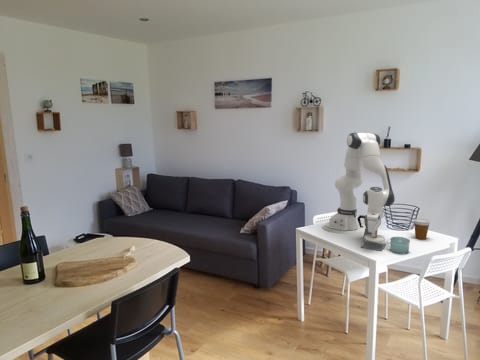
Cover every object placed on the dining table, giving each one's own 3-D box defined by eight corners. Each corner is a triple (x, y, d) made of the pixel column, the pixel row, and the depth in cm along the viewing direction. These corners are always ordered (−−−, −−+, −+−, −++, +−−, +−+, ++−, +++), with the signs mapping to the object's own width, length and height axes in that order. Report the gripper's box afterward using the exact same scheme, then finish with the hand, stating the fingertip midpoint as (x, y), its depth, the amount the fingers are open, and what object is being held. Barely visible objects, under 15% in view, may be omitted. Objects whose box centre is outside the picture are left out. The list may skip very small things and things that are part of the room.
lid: (362, 240, 217) (362, 232, 216) (367, 234, 227) (367, 227, 226) (382, 243, 211) (382, 235, 210) (386, 237, 220) (386, 229, 220)
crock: (388, 252, 210) (388, 240, 209) (391, 246, 219) (392, 235, 218) (407, 255, 204) (408, 243, 203) (410, 249, 213) (411, 238, 212)
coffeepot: (379, 236, 238) (380, 210, 235) (382, 241, 229) (383, 214, 226) (355, 235, 240) (356, 210, 237) (357, 240, 231) (358, 213, 228)
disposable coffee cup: (425, 235, 237) (426, 218, 235) (431, 240, 228) (432, 222, 226) (410, 235, 238) (411, 218, 236) (415, 240, 229) (417, 222, 227)
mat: (360, 247, 218) (360, 246, 218) (365, 241, 228) (365, 241, 228) (381, 251, 212) (381, 250, 211) (385, 245, 221) (385, 244, 221)
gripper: (373, 209, 226) (372, 230, 229) (366, 217, 209) (365, 239, 212) (384, 210, 223) (383, 231, 225) (377, 218, 206) (376, 241, 208)
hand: (374, 235), depth 218 cm, fingers closed on lid, 3 cm apart
